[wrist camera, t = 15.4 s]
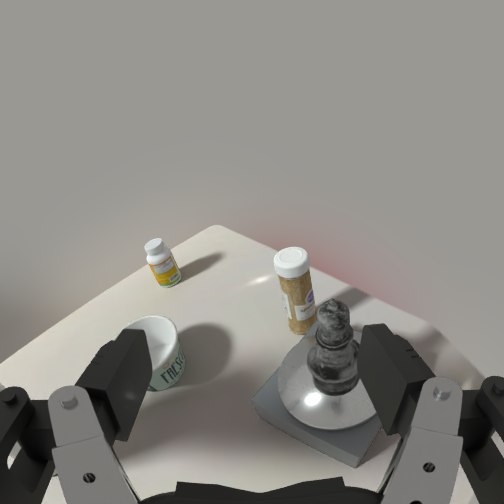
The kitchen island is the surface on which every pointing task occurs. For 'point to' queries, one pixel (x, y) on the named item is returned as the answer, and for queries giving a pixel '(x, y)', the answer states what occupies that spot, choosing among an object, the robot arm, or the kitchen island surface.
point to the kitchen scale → (328, 442)
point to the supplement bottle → (162, 263)
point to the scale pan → (320, 395)
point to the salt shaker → (334, 351)
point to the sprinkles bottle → (296, 288)
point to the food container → (161, 350)
